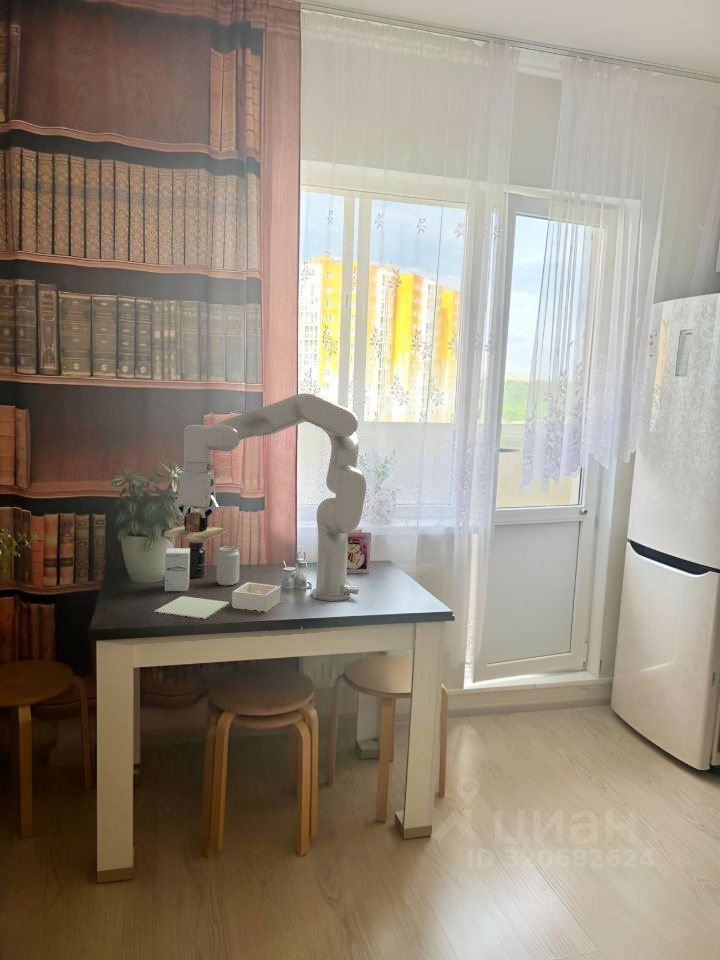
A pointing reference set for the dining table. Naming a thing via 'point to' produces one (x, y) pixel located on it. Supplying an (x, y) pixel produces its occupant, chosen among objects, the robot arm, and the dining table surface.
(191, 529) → the lid
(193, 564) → the supplement bottle
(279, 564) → the dining table surface
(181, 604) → the mat
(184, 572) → the supplement box
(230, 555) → the can
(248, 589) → the dish
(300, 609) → the dining table surface
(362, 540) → the greeting card
